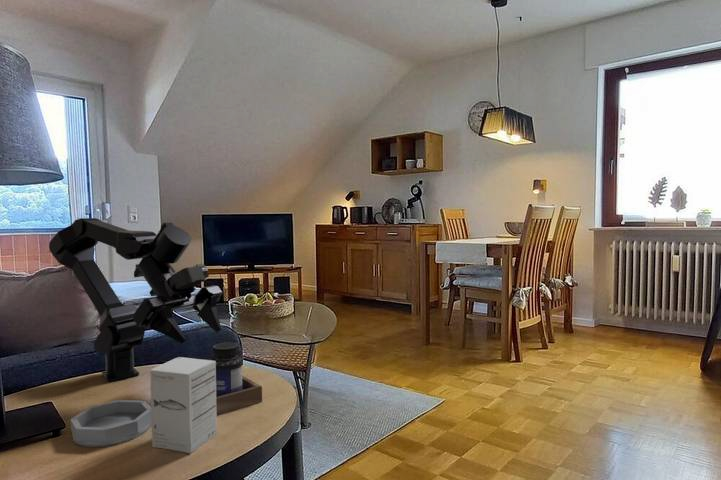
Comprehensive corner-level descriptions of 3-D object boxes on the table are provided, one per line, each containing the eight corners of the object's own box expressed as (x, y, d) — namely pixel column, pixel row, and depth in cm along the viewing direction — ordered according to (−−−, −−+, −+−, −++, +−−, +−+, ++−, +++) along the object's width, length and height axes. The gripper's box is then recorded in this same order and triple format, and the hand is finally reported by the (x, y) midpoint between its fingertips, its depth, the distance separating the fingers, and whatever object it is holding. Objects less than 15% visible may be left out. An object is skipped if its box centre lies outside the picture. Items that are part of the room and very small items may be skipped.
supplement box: (150, 448, 75) (147, 369, 74) (181, 427, 82) (179, 355, 81) (190, 455, 72) (187, 373, 72) (219, 433, 79) (216, 359, 79)
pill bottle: (203, 403, 92) (201, 347, 91) (226, 392, 97) (224, 339, 97) (227, 409, 89) (226, 351, 88) (249, 398, 94) (248, 343, 94)
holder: (191, 399, 94) (191, 384, 94) (239, 387, 100) (238, 373, 100) (212, 416, 86) (212, 400, 86) (262, 401, 93) (261, 386, 92)
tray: (67, 428, 82) (66, 412, 82) (140, 409, 89) (139, 394, 89) (80, 454, 73) (79, 437, 73) (160, 431, 80) (159, 415, 80)
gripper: (140, 256, 88) (185, 320, 84) (214, 248, 105) (255, 302, 100) (115, 295, 93) (156, 358, 88) (190, 282, 109) (228, 335, 105)
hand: (202, 336), depth 95 cm, fingers open, 9 cm apart
